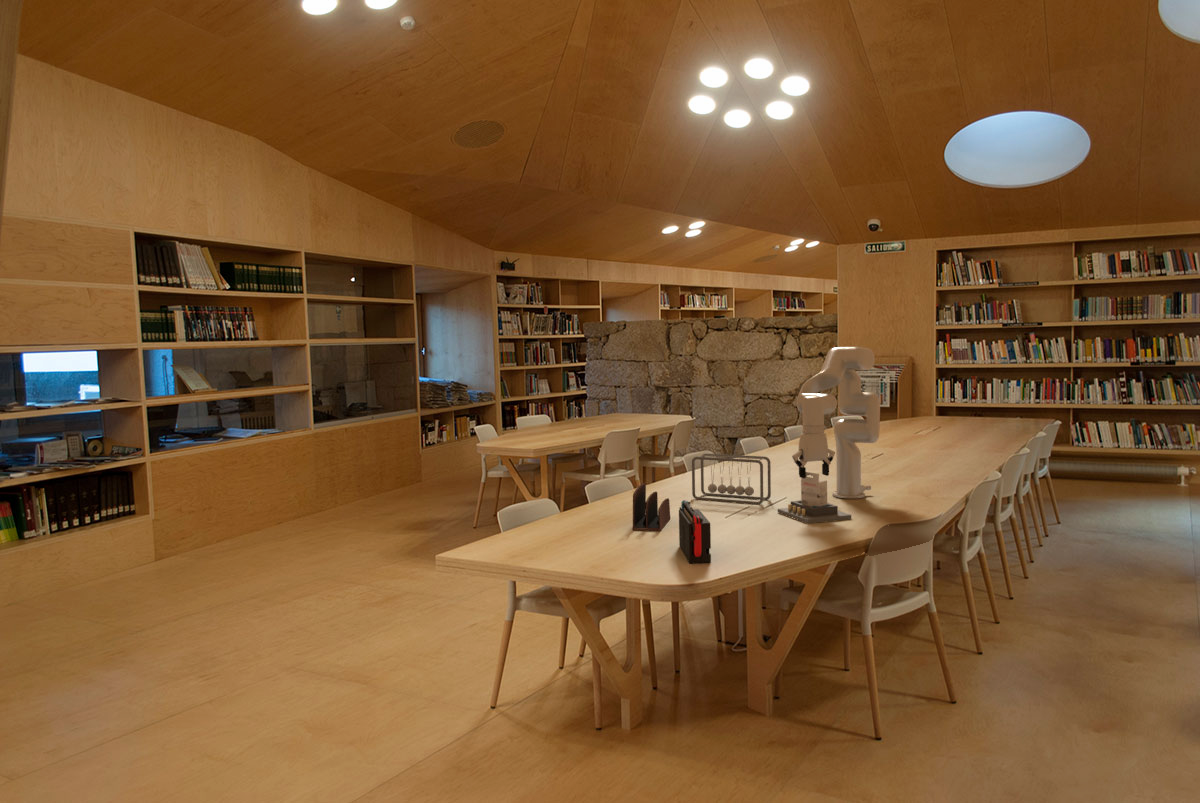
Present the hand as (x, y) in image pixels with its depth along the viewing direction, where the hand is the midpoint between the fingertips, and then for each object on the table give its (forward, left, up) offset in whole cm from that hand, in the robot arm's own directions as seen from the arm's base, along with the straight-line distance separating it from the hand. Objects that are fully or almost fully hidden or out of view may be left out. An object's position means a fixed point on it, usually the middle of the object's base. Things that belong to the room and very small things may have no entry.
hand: (814, 476), depth 296 cm
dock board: (0, 0, -15) cm, 15 cm away
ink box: (0, 0, -13) cm, 13 cm away
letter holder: (+59, -12, -15) cm, 62 cm away
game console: (+63, +31, -15) cm, 71 cm away
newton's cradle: (+13, -39, -15) cm, 44 cm away
